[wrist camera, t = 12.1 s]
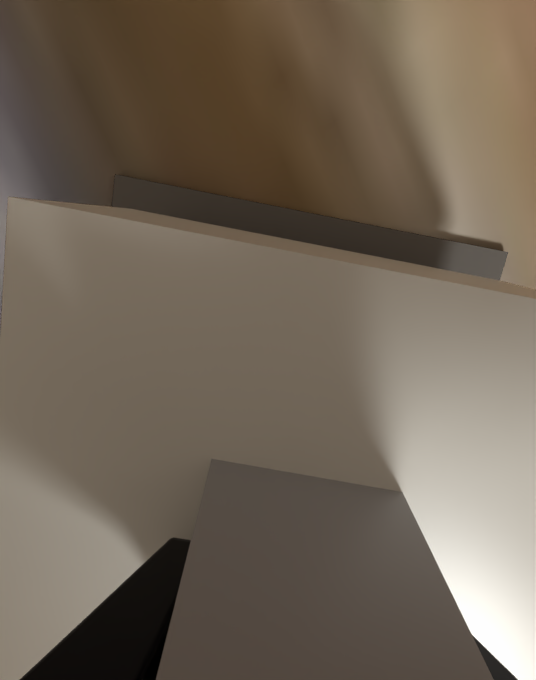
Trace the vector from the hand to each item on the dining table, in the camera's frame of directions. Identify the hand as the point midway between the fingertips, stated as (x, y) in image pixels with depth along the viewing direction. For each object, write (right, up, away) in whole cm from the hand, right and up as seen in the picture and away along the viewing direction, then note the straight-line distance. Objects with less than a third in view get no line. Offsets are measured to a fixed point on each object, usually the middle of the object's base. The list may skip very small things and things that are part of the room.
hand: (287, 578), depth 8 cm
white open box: (0, +2, +6) cm, 6 cm away
